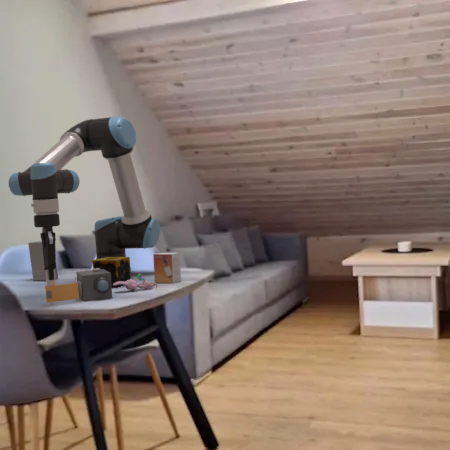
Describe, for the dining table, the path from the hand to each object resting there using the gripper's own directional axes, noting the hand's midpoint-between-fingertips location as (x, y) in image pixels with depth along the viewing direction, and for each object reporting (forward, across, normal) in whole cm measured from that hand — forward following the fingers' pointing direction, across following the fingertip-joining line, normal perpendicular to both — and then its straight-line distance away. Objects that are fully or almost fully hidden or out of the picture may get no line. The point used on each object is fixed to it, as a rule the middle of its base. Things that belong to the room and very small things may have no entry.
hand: (51, 290), depth 203 cm
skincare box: (+5, -64, +6) cm, 64 cm away
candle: (+5, -26, +25) cm, 36 cm away
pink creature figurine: (+5, -9, +29) cm, 30 cm away
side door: (+4, +1, +4) cm, 5 cm away
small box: (+5, -19, +44) cm, 48 cm away
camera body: (+4, -4, +14) cm, 15 cm away
